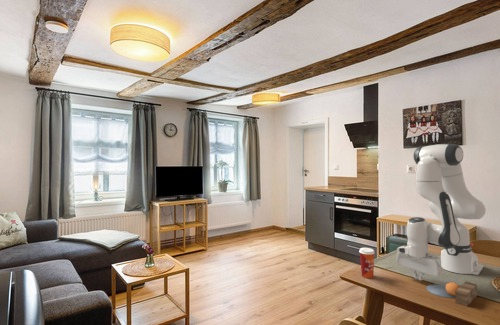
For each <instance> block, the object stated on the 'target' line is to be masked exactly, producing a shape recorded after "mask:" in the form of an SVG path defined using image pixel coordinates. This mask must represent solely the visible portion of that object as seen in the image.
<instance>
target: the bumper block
mask: <svg viewBox="0 0 500 325" xmlns="http://www.w3.org/2000/svg"><path fill="white" fill-rule="evenodd" d="M477 287H478V285H477V284H476V283H473V282H470V281H469V282H468V281H465V282H463V283H462V284H461V285H459V288H458V289H457V290H456V291H455V298H454V299H455V303H456V304H458V305H461V306H464V307H468V306H469V305H470V304H471V303H472V302H473V301H474V299H475V298H476V297H477V296H478V289H477Z"/></svg>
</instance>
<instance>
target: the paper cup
mask: <svg viewBox="0 0 500 325" xmlns="http://www.w3.org/2000/svg"><path fill="white" fill-rule="evenodd" d="M358 253H359V257H360V258H359V259H360V269H361V270H360V271H361V277H363V278H365V279H373V278H374V269H375V253H376V252H375V250H374V249H373V248H371V247H361V248H359V251H358Z"/></svg>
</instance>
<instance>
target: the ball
mask: <svg viewBox="0 0 500 325" xmlns="http://www.w3.org/2000/svg"><path fill="white" fill-rule="evenodd" d="M445 286H446V291H447V292H448V293H449V294H450V295H452V296H455V291H456V290H457V289H458V288H459V287H460V285H459V284H458V283H455V282H453V281H451V282H448V283H446V284H445Z"/></svg>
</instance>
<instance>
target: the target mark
mask: <svg viewBox="0 0 500 325" xmlns="http://www.w3.org/2000/svg"><path fill="white" fill-rule="evenodd" d="M425 288H426V291H428V292H429V293H430V294H432V295H435V296H438V297H442V298H448V299H455V296H452V295H450V294H449V293H448V292H447V291H446V284H445V285H444V284H434V283H433V284H428V285H427V286H426V287H425Z"/></svg>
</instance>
